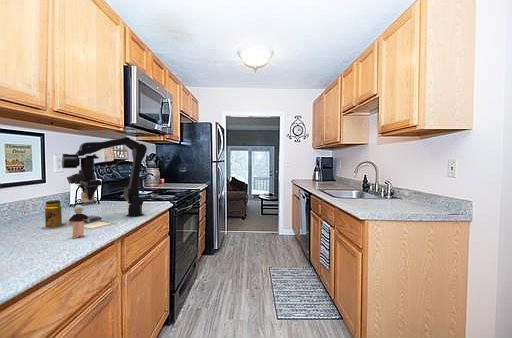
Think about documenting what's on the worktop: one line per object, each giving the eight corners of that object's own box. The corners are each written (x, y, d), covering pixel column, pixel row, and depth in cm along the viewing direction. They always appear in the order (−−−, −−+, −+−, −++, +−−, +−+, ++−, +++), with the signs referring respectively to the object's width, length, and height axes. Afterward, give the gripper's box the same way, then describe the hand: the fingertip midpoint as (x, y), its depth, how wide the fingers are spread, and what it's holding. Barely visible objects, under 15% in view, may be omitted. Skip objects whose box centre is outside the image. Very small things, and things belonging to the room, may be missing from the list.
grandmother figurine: (71, 239, 106) (70, 206, 106) (66, 238, 108) (65, 205, 108) (92, 235, 113) (91, 204, 112) (87, 233, 115) (86, 203, 114)
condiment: (41, 229, 123) (40, 202, 122) (49, 225, 131) (48, 199, 130) (60, 228, 125) (60, 201, 125) (67, 223, 133) (66, 198, 133)
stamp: (91, 201, 141) (91, 189, 141) (94, 202, 138) (94, 189, 138) (81, 202, 137) (81, 190, 137) (84, 203, 134) (84, 190, 134)
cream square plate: (99, 221, 138) (99, 220, 138) (116, 223, 133) (116, 222, 133) (72, 227, 126) (72, 226, 126) (90, 229, 121) (90, 228, 121)
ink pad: (91, 218, 146) (91, 215, 146) (101, 219, 143) (101, 216, 143) (72, 222, 137) (72, 218, 137) (82, 223, 134) (82, 220, 134)
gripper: (62, 167, 137) (63, 199, 138) (75, 168, 125) (75, 203, 125) (87, 167, 146) (88, 197, 146) (101, 168, 133) (102, 200, 134)
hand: (88, 199), depth 138 cm, fingers closed on stamp, 4 cm apart
